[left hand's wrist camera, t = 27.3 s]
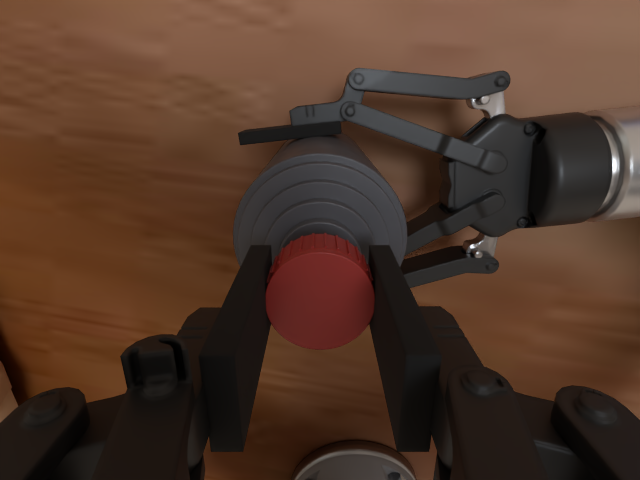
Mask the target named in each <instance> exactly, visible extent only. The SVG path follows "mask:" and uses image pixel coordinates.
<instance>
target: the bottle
mask: <svg viewBox="0 0 640 480" xmlns="http://www.w3.org/2000/svg"><path fill="white" fill-rule="evenodd" d="M312 233H315V234H324V233H326V234H329V235H333V236H336V235H338V237H340V238H342V239H344V240H348V241H349V243H351V244H352V245H353V246H357V248H358V250H359V252H360V253H361V254H362V255H363V254H364V256H365V260H366V263H367V264H368V258H369V245H390V247H391V250H392V252H393V254H394V256H395V258H396V260H397V262H398V264H399V267H400V266H401V264H402V261H403V258H404V255H405V251H406V245H407V224H406V218H405V214H404V211H403V208H402V205H401V203H400V201H399V199H398V197H397V195H396V194H395V192H394V191H393V189H392V188H391V186H390V185H389V184H388V182H387V181H386V180H385V179H384V177H383V176H382V175H381V174H380V173H379V171H378V170H377V169H376V168H375V166H374V165H373V164H372V163H371V161H370V160H369V159H368V158H367V156H366V155H365V154H364V153H363V151H362V150H361V149H360V148H359V147H358V145H357V144H356V143H355V142H354V141H353V140H352V139H351V138H349V137H348V136H346V135H345V134H343V133H341V134H335V135H326V136H318V137H309V138H300V139H291V140H287V141H286V142H285V143H284V145H283V146H282V147H281V148H280V150H279V151H278V152H277V153H276V154H275V156H274V157H273V158H272V159H271V161H270V162H269V163H268V164H267V166H266V167H265V168H264V169H263V171H262V172H261V173H260V174H259V176H258V177H257V178H256V179H255V181H254V182H253V183H252V184H251V186H250V187H249V188H248V190H247V191H246V192H245V194H244V196H243V198H242V200H241V201H240V204H239V206H238V209H237V212H236V216H235V220H234V228H233V243H234V249H235V254H236V257H237V260H238V263H239V265H240V267H241V265H242V263H243V261H244V259H245V256H246V254H247V252H248V250H249V248H250V246H251V245H271V252H272V265H273V263H274V259H275V257H276V256H278V255H279V253H280V252H281V249H282V248H283V247H284V248H285V247H286V246H287V245H288V244H290V241H294V240H296V239H298V238H301V236H307V235H311V234H312Z"/></svg>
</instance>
